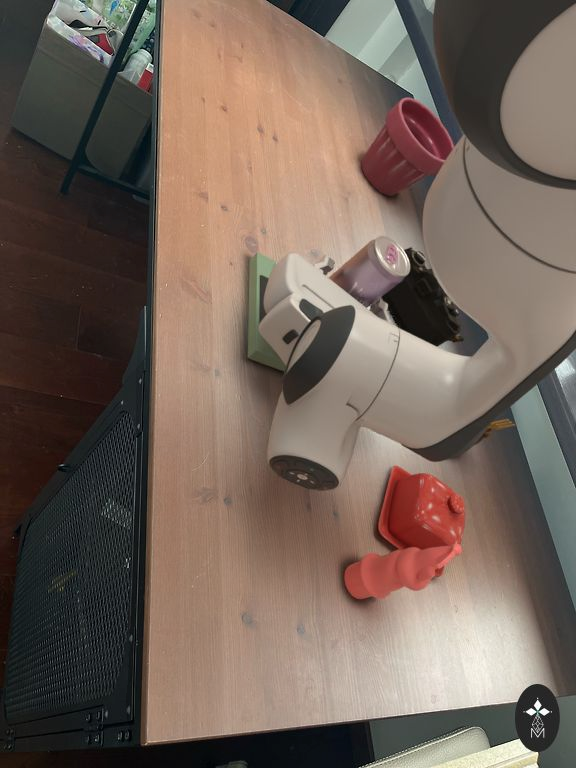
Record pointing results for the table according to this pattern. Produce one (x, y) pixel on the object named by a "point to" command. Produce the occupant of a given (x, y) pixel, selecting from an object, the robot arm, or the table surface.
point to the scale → (260, 312)
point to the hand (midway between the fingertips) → (353, 282)
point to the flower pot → (406, 148)
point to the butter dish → (421, 512)
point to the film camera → (423, 304)
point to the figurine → (396, 570)
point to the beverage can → (373, 270)
